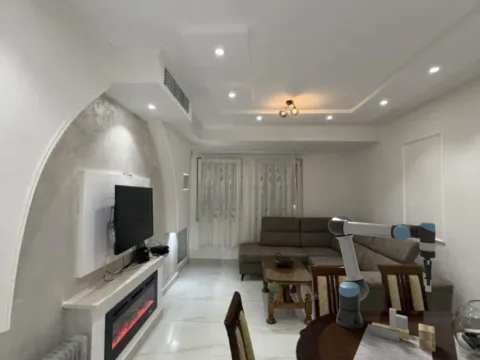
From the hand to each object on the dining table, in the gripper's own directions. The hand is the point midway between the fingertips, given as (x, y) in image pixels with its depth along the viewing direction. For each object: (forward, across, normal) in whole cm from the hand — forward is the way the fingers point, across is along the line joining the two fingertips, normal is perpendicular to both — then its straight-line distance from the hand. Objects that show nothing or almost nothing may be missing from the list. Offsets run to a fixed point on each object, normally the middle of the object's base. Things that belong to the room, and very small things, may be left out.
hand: (427, 288), depth 164 cm
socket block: (+26, -14, +1) cm, 30 cm away
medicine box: (+27, -2, +14) cm, 30 cm away
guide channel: (+26, -14, +20) cm, 36 cm away
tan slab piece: (+25, -14, +18) cm, 34 cm away
